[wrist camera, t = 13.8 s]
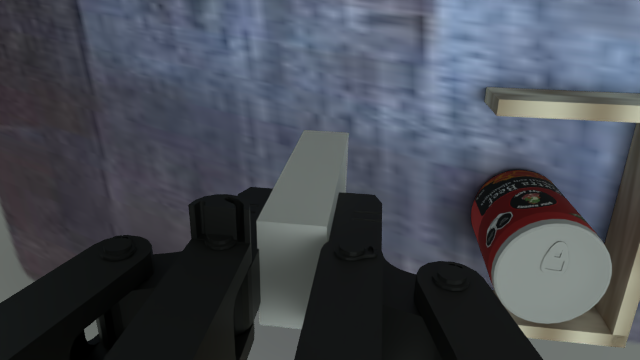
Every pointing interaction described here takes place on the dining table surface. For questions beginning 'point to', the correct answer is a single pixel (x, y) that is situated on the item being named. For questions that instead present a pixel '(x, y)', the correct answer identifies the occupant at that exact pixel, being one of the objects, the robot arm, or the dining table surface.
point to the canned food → (538, 248)
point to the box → (626, 223)
